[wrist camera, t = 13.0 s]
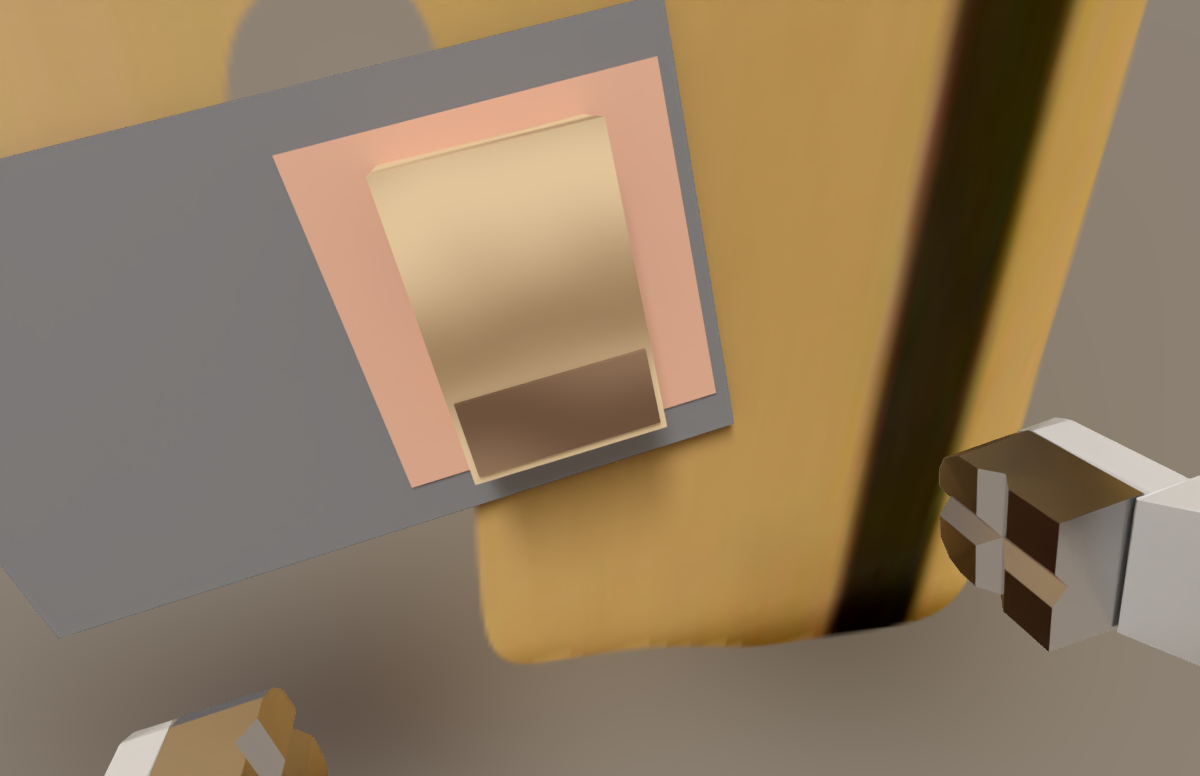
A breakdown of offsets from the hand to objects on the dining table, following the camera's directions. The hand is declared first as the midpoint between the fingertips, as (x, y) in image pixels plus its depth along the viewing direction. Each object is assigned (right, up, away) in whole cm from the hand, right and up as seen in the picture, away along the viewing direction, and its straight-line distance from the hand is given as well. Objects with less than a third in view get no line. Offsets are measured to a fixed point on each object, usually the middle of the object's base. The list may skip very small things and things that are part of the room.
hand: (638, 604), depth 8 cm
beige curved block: (-3, +6, +13) cm, 15 cm away
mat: (-9, +4, +13) cm, 16 cm away
